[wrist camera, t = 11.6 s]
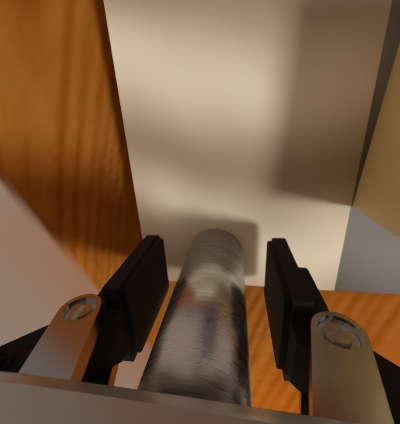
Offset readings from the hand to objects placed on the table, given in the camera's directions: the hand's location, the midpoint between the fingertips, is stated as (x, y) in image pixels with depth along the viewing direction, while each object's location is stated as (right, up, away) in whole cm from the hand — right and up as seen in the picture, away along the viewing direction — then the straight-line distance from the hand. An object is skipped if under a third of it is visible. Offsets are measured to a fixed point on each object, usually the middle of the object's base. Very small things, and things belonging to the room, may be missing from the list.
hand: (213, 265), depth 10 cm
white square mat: (+3, +5, 0) cm, 6 cm away
